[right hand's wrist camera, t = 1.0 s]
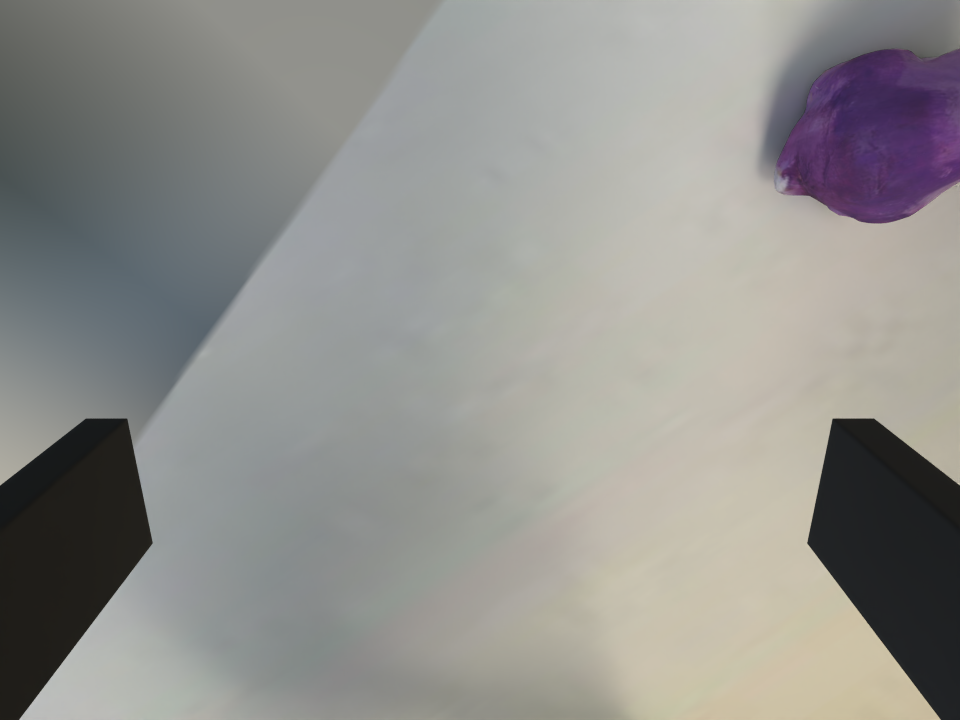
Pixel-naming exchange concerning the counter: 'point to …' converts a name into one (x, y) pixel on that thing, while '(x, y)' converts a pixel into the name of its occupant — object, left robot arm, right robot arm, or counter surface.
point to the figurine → (877, 136)
